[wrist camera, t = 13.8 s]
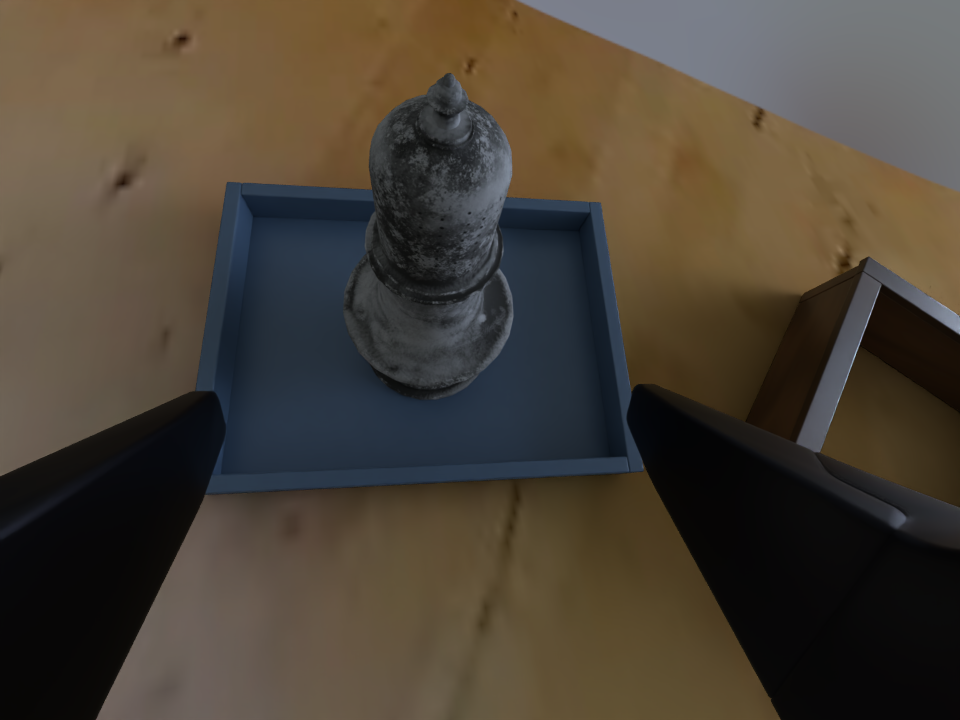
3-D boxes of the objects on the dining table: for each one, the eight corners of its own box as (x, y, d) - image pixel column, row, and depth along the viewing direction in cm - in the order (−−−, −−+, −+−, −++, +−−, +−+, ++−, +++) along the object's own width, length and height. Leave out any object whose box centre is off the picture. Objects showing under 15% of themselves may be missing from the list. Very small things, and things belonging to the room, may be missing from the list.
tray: (584, 227, 21) (601, 201, 20) (620, 473, 18) (644, 471, 16) (244, 212, 19) (226, 181, 17) (207, 495, 15) (178, 495, 13)
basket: (967, 684, 17) (1097, 729, 14) (707, 498, 18) (773, 499, 15) (1014, 433, 22) (1122, 422, 18) (801, 290, 22) (868, 255, 19)
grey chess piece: (328, 325, 17) (166, 15, 6) (439, 254, 19) (475, -89, 8) (414, 436, 17) (410, 316, 5) (522, 352, 18) (696, 127, 7)
